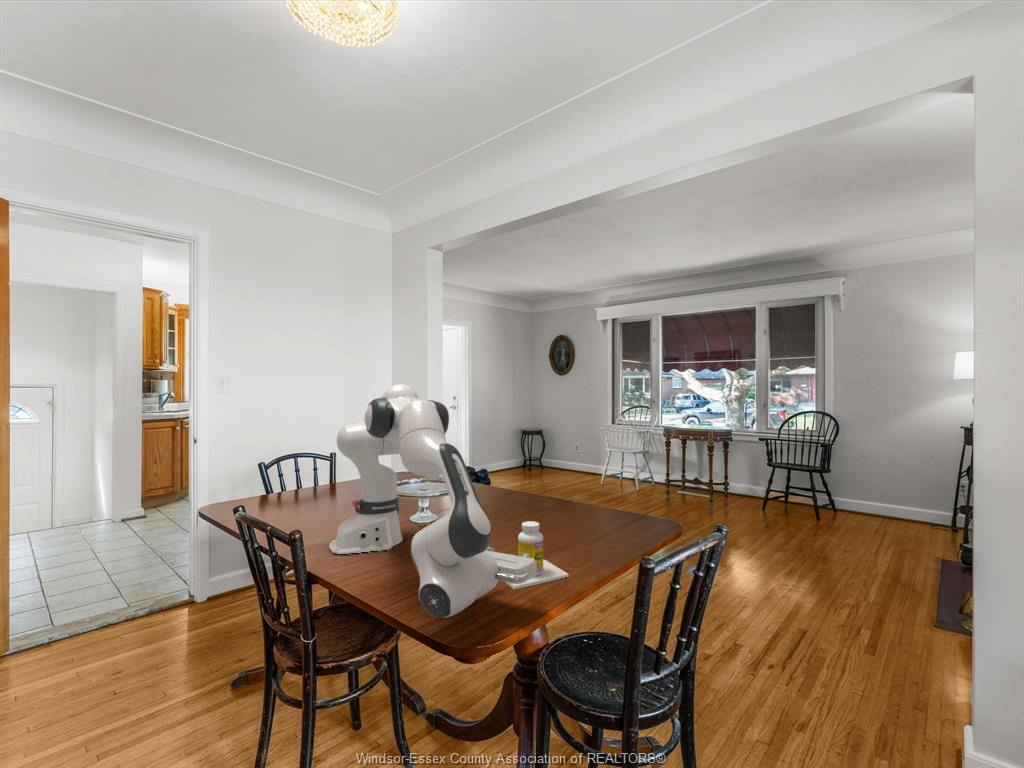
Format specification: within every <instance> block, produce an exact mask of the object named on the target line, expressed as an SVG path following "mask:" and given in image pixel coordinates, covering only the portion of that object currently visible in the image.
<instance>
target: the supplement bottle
mask: <svg viewBox="0 0 1024 768" xmlns="http://www.w3.org/2000/svg"><path fill="white" fill-rule="evenodd" d="M521 530H522V531H521V532H520V533H519V534H518V536H517V540H518V541H517V550H518V551H517V553H518V554H517V556H520V554H522V553H527V554H529V558H533V559H534V560H535V561H536V575H535V576H537V575H540V574H541V573H542V572H543V560H544V535H543V534H542V533H541V532H540V531H539V530H540V523H539V522H537V521H533V520H532V521H529V520H528V521H523V522H522V523H521Z"/></svg>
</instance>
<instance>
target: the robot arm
mask: <svg viewBox="0 0 1024 768" xmlns="http://www.w3.org/2000/svg"><path fill="white" fill-rule="evenodd" d="M449 415H450V414H449V409H448V408H447V406H446V405H445V404H443V403H442V402H439V401H436V400H432V399H428V400H426V399H420V398H419V396H418V394H417V392H416V391H415V389H413V388H412V387H411V386H410V385H408V384H405V383H400V384H399V383H398V384H394V385H392V386H390V387H389V388H388V389H387V390H386V391H385V392H384V393H382V395H381V396H380V397H379V398H374V399H373V400H372V401H370V402H369V404H368V406H367V408H366V410H365V414H364V421H361V422H358V421H357V422H354V423H349V424H346V425H343V426H342V427H341V428H340V429H339V431H338V433H337V436H336V447H337V448H338V450H339V452H340V453H341V454H342V455H343V456H344V457H346V458H347V459H349V460H350V461H351V462H352V463H353V464H354V465H355V467H356V469H357V472H358V473H359V477H360V487H361V499H359V500H357V499H353V500H352V501H351V505H352V506H353V507H354V509H355V512H354V513H352V514H351V515H350V516H349V517H348V518H347V519H346V520H344V521H343V522H342V523H340V525H339V526H338V529H337V532H336V533H337V534H336V539H332V541H330V542H329V545H328V549H329V548H330V550H331V551H332V552H334V553H337V554H349V553H359V554H362V553H361V552H368V553H371V552H370V551H378V552H384V551H383V550H387V551H390V550H391V549H392V548H393V546H394V547H396V546H398V545H400V544H401V543H403V541H402V540H404V539H403V535H402V532H401V531H402V530H401V528H400V527H401V526H400V522H399V514H400V512H399V511H400V500H399V497H398V474H396V472H395V471H394V469H393V468H391V467H389V466H386V465H385V464H382V463H380V461H379V457H380V456H389V455H391V456H392V455H400V459H401V463H402V465H403V467H405V468H406V470H407V471H408V472H410V473H412V474H414V475H416V476H420V477H427V478H429V477H430V478H431V477H437V476H438V477H439V476H442V477H443V479H444V480H443V481H444V483H445V486H446V491H448V495H449V499H450V501H451V506H450V509H449V511H448V512H447V513H446V514H445V515H444V516H442V517H441V518H438V519H437V520H435V521H434V522H432V523H430V524H428V525H427V526H425V527H423V528H422V529H421V530H418V531H417V532H416V533H415V534H414V535H413V537H412V539H411V543H410V551H409V552H410V557H411V561H412V564H413V566H414V567H415V569H416V571H417V573H418V575H419V589H418V600H419V602H420V605H421V607H422V609H423V610H424V611H425V612H427V614H429V615H430V616H432V617H435V618H438V619H445V618H449V617H452V616H454V615H457V614H459V613H460V612H462V611H463V610H465V609H467V608H468V607H469V606H471V605H472V604H473V603H474V602H475V601H476V600H478V599H481V597H483V596H484V595H486V594H487V593H489V592H490V591H491V590H493V589H494V588H495V587H496V586H497V584H498V582H503V583H505V582H507V583H512V584H521V583H524V582H526V581H528V580H529V579H531V578H533V577H534V576H535V575H536V561H535V560H534V559H533V558H529V554H527V553H522V554H520V556H518V555H516V554H510V553H503V552H498V551H496V550H495V548H494V547H490V543H491V538H492V534H493V527H492V522H491V520H490V517H489V516H488V514H487V512H486V510H485V509H484V507H483V505H482V503H481V502H480V499H479V496H478V494H477V491H476V488H475V486H474V484H473V481H472V477H471V475H470V473H469V471H468V468H467V465H466V463H465V461H464V458H463V457H462V454H461V453H460V451H459V450H458V449H457V448H456V446H454V445H453V444H451V443H448V442H447V438H446V433H447V432H448V428H449V423H450V416H449ZM400 542H401V543H400ZM399 543H400V544H399ZM397 544H398V545H397ZM395 545H396V546H395ZM389 549H390V550H389ZM330 550H329V551H330ZM381 550H382V551H381ZM331 551H330V552H331ZM332 552H331V553H332ZM349 555H350V554H349ZM507 583H506V584H507Z"/></svg>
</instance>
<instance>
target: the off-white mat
mask: <svg viewBox="0 0 1024 768" xmlns="http://www.w3.org/2000/svg"><path fill="white" fill-rule="evenodd" d="M569 575H570V574H569V573H567V572H566V571H564V570H563V569H561V568H559V567H558V566H556V565H555V564H553V563H551V562H549V561H548V560H546V559H543V572H542V573H541V574H540V575H537V576H534V577H533V578H531V579H529V580H528V581H526V582H524V583H521V584H512V583H507V582H504V583H506V584H507V586H509V587H511V588H512V589H513V590H519V589H523V588H527V587H532V586H535V585H540V584H545V583H549V582H554V581H557V579H558V580H562V579H565V577H567V578H569ZM561 578H562V579H561ZM553 580H554V581H553Z"/></svg>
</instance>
